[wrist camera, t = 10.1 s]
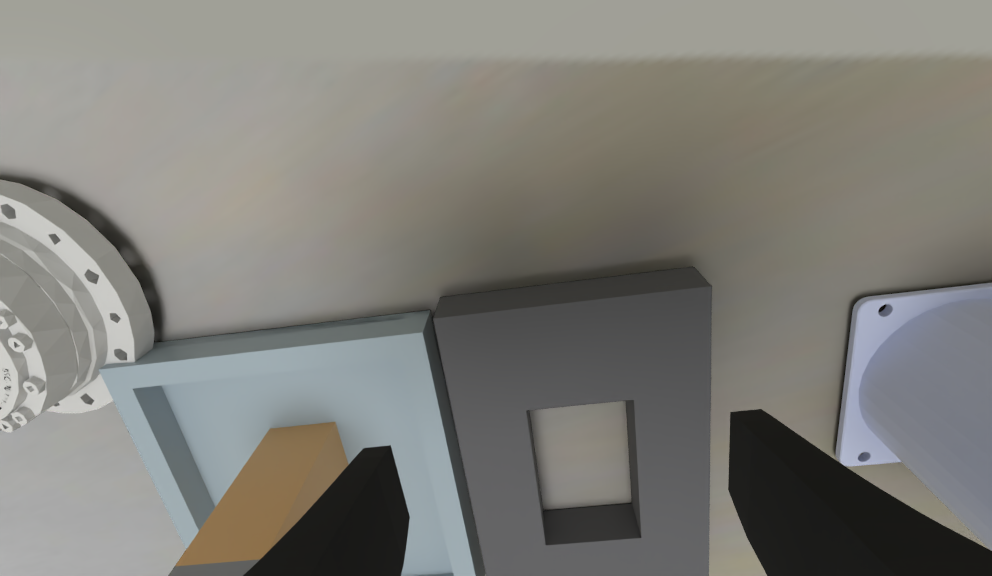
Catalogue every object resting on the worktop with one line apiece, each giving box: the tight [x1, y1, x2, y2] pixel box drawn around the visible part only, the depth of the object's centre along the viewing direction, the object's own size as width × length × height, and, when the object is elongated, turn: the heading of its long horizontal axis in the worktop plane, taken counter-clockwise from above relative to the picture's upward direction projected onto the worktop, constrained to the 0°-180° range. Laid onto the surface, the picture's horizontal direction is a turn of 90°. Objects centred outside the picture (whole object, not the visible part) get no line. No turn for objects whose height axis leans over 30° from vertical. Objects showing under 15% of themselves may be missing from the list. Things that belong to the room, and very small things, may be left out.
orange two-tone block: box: [168, 422, 349, 576], centre depth 20 cm, size 3×6×8 cm, turn 8°
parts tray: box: [99, 310, 485, 576], centre depth 24 cm, size 13×15×2 cm
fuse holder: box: [433, 267, 712, 576], centre depth 23 cm, size 10×16×2 cm, turn 8°
